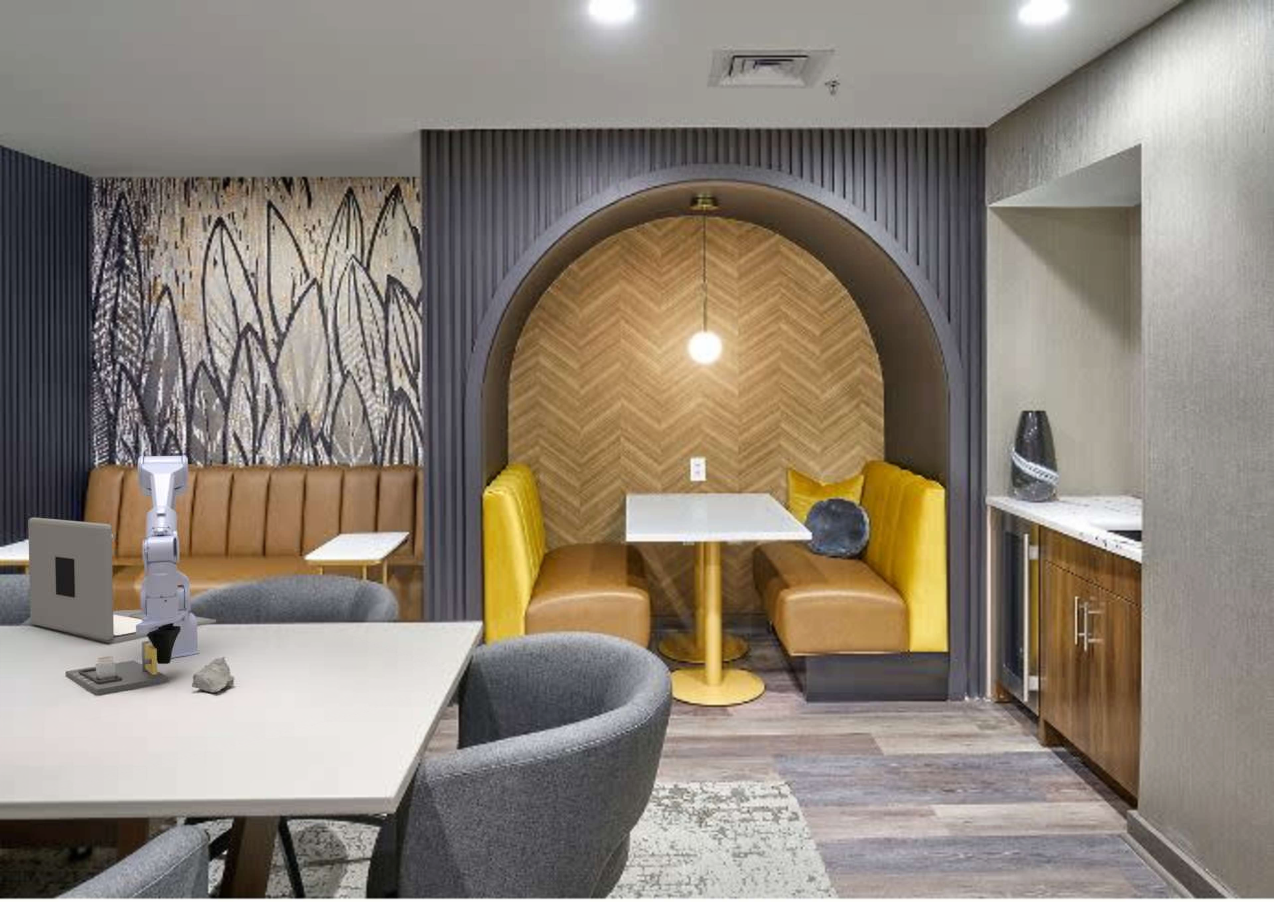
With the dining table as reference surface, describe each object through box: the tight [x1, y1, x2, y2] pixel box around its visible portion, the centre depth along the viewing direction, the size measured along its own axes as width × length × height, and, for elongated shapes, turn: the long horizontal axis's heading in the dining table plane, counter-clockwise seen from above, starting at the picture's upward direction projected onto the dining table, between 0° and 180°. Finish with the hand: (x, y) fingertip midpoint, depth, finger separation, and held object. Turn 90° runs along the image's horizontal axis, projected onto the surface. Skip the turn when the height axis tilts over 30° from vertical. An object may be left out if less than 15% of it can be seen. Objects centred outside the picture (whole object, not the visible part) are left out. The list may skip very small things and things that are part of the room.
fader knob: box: [95, 655, 116, 681], centre depth 194 cm, size 3×2×4 cm
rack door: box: [144, 643, 158, 675], centre depth 197 cm, size 2×7×5 cm, turn 38°
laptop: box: [27, 517, 217, 645], centre depth 246 cm, size 36×28×29 cm
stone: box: [191, 656, 235, 693], centre depth 193 cm, size 6×12×4 cm, turn 177°
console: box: [65, 640, 170, 697], centre depth 198 cm, size 13×20×7 cm, turn 45°
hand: (163, 663), depth 197 cm, fingers closed, pressing on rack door
